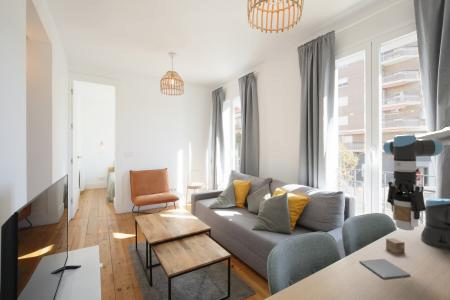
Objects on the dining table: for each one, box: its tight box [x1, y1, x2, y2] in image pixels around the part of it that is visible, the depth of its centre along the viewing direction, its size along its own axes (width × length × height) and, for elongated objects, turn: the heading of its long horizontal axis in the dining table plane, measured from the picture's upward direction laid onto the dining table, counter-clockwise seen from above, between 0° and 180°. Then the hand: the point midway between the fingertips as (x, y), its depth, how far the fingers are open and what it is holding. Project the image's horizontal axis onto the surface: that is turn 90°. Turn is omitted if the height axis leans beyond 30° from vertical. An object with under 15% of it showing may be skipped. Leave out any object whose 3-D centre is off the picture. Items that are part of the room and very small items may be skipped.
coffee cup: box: [393, 192, 415, 231], centre depth 95 cm, size 8×8×15 cm
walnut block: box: [385, 237, 406, 254], centre depth 106 cm, size 5×5×5 cm
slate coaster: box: [359, 258, 411, 280], centre depth 90 cm, size 12×12×1 cm
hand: (405, 222), depth 95 cm, fingers closed on coffee cup, 8 cm apart
